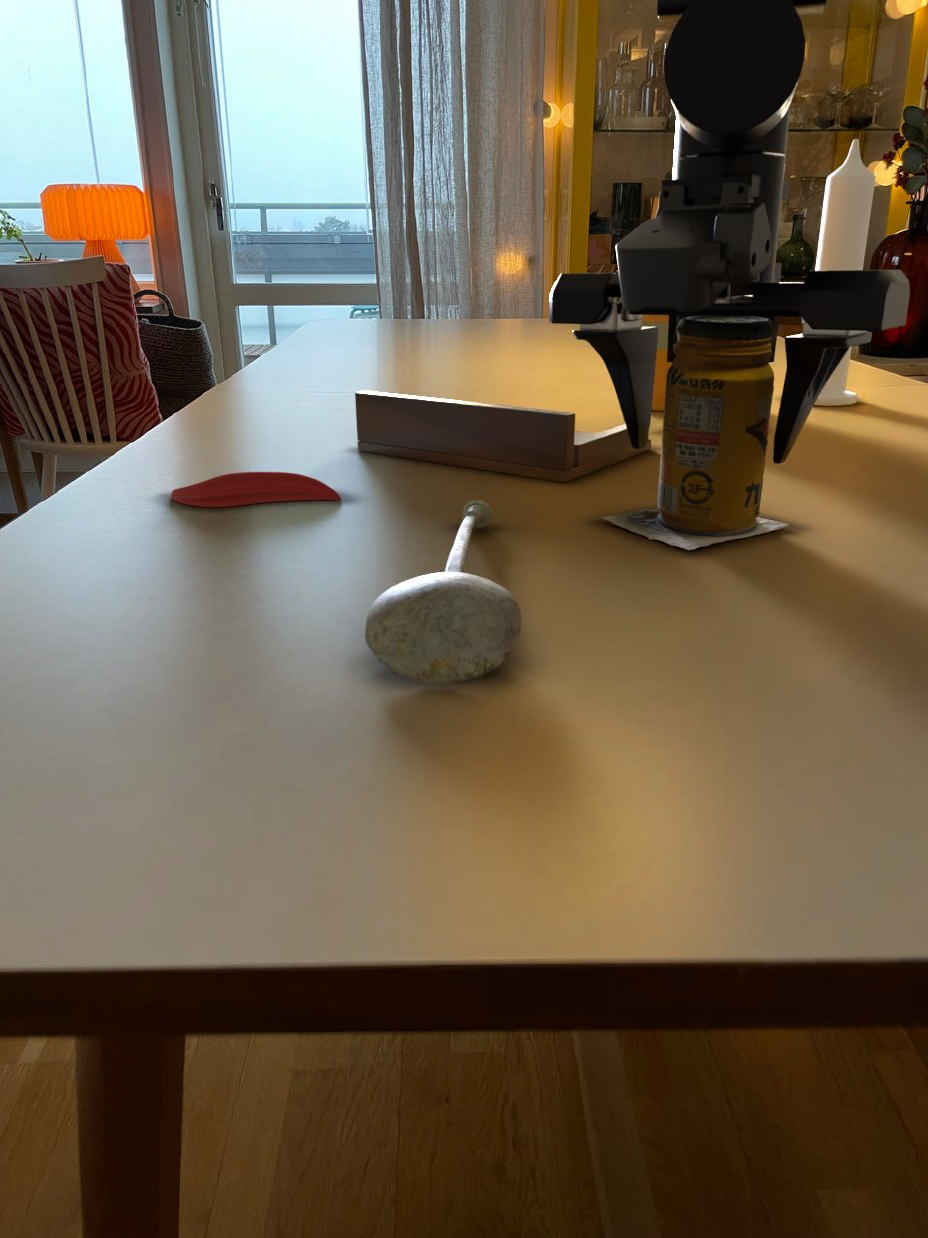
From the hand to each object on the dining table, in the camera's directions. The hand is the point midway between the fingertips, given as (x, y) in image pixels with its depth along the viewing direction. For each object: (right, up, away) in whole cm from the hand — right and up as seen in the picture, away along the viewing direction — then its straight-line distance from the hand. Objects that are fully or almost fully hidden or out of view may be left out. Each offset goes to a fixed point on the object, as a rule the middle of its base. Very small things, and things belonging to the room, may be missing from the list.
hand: (705, 455), depth 55 cm
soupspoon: (-14, -8, -8) cm, 18 cm away
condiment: (0, -4, +2) cm, 5 cm away
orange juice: (+9, +13, +43) cm, 46 cm away
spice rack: (-11, +4, +23) cm, 26 cm away
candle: (+24, +14, +45) cm, 53 cm away
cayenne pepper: (-28, -2, +9) cm, 30 cm away
